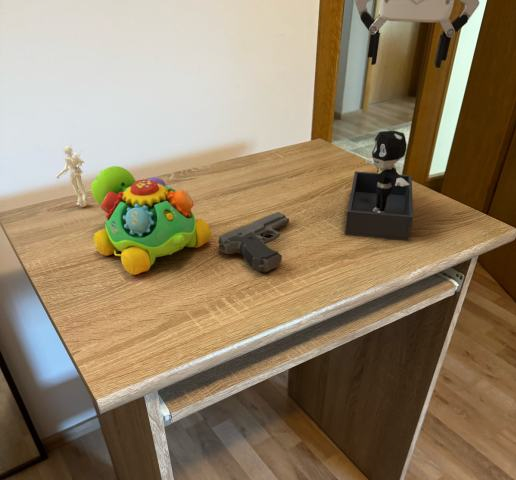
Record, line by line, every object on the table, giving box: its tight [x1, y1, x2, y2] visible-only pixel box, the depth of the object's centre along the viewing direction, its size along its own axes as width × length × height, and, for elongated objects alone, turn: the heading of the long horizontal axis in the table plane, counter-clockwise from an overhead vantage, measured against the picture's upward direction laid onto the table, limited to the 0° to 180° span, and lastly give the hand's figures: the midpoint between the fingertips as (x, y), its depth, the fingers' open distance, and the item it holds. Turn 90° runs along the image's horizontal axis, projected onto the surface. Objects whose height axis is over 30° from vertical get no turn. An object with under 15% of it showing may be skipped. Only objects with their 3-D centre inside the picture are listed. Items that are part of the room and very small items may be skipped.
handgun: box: [218, 211, 290, 273], centre depth 84 cm, size 3×16×12 cm
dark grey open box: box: [344, 170, 414, 241], centre depth 92 cm, size 11×18×4 cm, turn 167°
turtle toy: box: [90, 165, 212, 276], centre depth 83 cm, size 17×23×12 cm
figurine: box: [55, 145, 89, 208], centre depth 94 cm, size 5×6×12 cm
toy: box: [365, 130, 409, 213], centre depth 88 cm, size 13×6×15 cm, turn 17°
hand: (405, 64), depth 75 cm, fingers open, 9 cm apart
